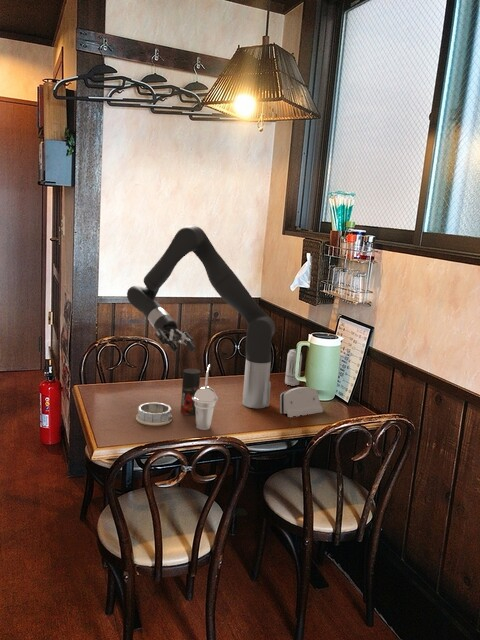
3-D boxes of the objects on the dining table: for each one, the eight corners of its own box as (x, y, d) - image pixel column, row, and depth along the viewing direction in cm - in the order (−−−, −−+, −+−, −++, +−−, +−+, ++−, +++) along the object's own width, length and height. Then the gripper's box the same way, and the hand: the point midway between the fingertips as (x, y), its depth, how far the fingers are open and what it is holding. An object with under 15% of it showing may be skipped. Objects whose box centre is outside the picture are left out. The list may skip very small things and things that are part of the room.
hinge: (287, 417, 192) (284, 389, 193) (280, 417, 196) (276, 389, 197) (323, 411, 201) (320, 384, 202) (315, 411, 205) (312, 385, 206)
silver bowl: (168, 411, 188) (169, 401, 188) (175, 425, 177) (176, 414, 177) (133, 412, 185) (134, 402, 184) (138, 426, 174) (138, 415, 173)
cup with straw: (184, 427, 176) (188, 368, 172) (201, 419, 184) (204, 362, 180) (206, 434, 172) (210, 374, 168) (221, 426, 179) (226, 368, 175)
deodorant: (201, 411, 191) (203, 371, 188) (190, 416, 186) (193, 374, 183) (187, 407, 194) (190, 367, 191) (177, 412, 189) (179, 370, 186)
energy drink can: (284, 386, 227) (287, 351, 224) (285, 382, 233) (288, 348, 230) (298, 388, 226) (302, 353, 223) (299, 383, 232) (302, 350, 229)
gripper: (152, 312, 195) (175, 341, 186) (180, 315, 206) (204, 342, 197) (143, 329, 198) (166, 358, 189) (171, 330, 209) (194, 358, 200)
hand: (185, 350), depth 193 cm, fingers open, 8 cm apart
